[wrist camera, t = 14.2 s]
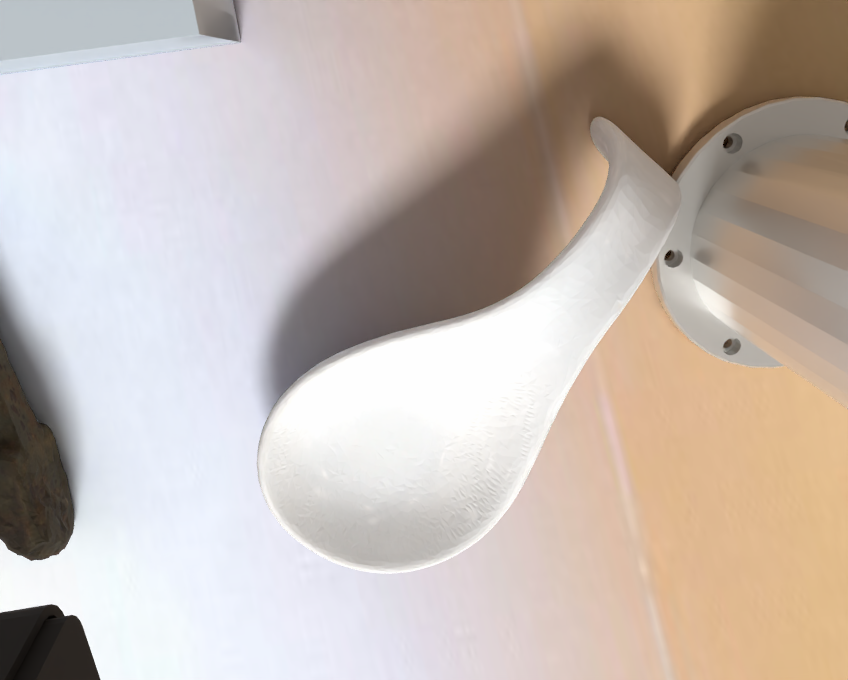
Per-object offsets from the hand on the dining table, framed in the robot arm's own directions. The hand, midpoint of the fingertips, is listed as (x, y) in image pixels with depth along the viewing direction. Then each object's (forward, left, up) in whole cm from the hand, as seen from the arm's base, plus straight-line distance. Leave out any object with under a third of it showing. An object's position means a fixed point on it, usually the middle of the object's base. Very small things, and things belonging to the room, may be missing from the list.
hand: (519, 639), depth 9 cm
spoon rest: (-3, +7, -29) cm, 30 cm away
